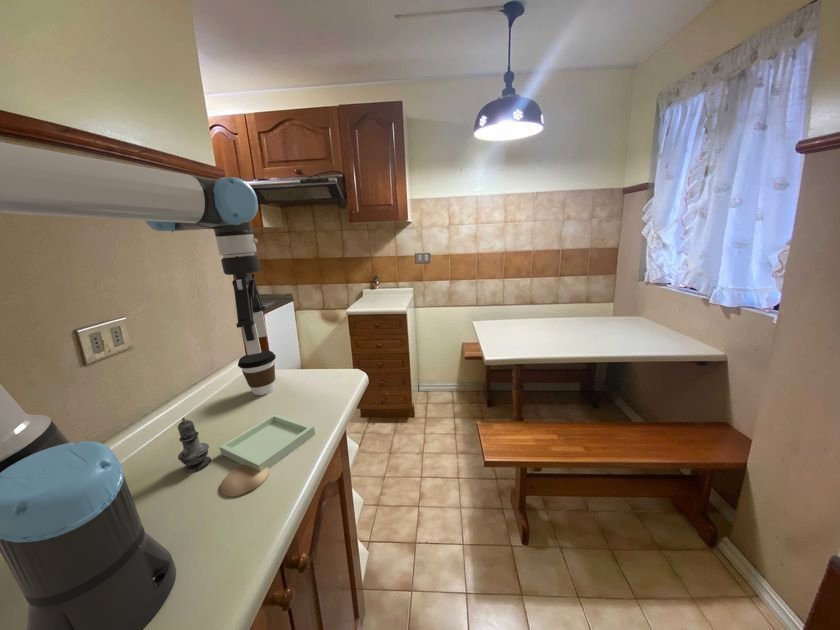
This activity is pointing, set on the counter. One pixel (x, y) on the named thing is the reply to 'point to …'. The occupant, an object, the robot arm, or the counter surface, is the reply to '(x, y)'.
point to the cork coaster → (243, 481)
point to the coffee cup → (259, 371)
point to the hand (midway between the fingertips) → (258, 344)
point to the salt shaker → (192, 448)
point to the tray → (267, 442)
